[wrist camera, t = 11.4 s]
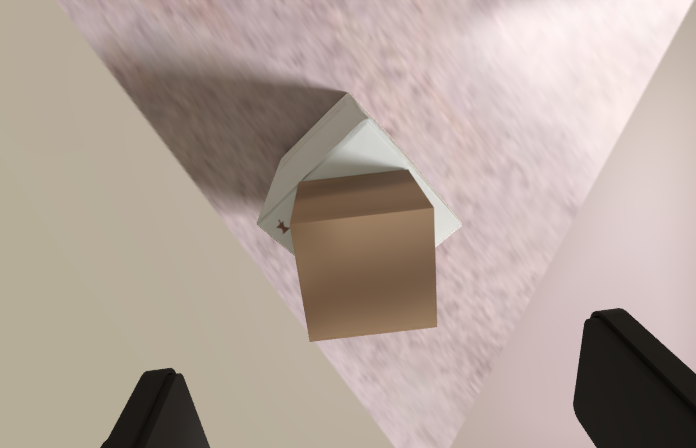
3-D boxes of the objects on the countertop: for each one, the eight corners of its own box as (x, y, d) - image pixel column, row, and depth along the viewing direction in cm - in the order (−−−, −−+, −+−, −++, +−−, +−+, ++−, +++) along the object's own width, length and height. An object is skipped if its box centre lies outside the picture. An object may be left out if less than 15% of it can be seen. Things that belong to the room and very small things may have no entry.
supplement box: (345, 224, 34) (355, 317, 22) (278, 158, 31) (249, 223, 20) (416, 162, 32) (468, 227, 20) (350, 87, 30) (366, 113, 18)
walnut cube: (298, 181, 19) (289, 224, 14) (407, 169, 19) (434, 207, 14) (313, 277, 21) (309, 341, 16) (412, 265, 21) (437, 326, 16)
